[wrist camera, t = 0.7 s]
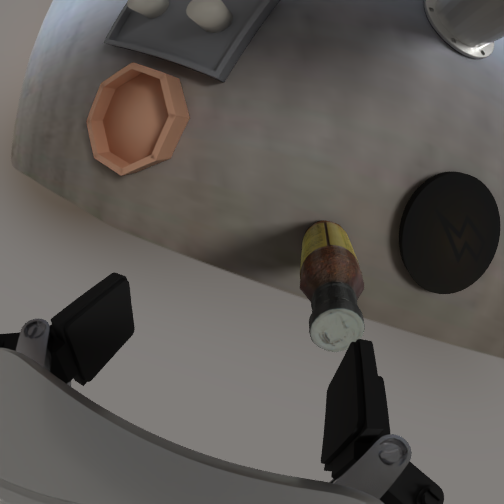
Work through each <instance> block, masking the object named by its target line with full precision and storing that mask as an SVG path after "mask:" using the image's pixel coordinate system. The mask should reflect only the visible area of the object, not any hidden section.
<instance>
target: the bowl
mask: <svg viewBox="0 0 504 504" xmlns="http://www.w3.org/2000/svg"><path fill="white" fill-rule="evenodd" d="M189 119H190V117H189V113H188V109H187V105H186V102H185V98H184V94H183V90H182V86H181V82H180V79H179V78H176V77H174V76H171V75H168V74H166V73H163V72H160V71H157V70H155V69H152V68H149V67H146V66H143V65H140V64H137V63H133V62H132V63H131V64H129V65H128V66H126V67H124V68H123V69H121V70H120V71H118V72H117V73H115V74H114V75H112V76H111V77H109V78H108V79H106V80H105V81H104V82H102V83H101V85H100V87H99V89H98V92H97V94H96V97H95V99H94V102H93V104H92V107H91V110H90V113H89V115H88V118H87V121H86V122H87V127H88V132H89V137H90V142H91V146H92V151H93V155H94V158H95V159H96V160H98V161H99V162H101V163H102V164H104V165H106V166H107V167H109V168H110V169H112V170H113V171H115V172H116V173H118V174H119V175H121V176H123V175H127V174H131V173H136V172H139V171H141V170H144V169H146V168H148V167H151V166H153V165H156V164H158V163H161V162H163V161H166V160H168V159H171V156H172V154H173V152H174V150H175V148H176V145H177V143H178V141H179V139H180V137H181V135H182V133H183V131H184V129H185V127H186V125H187V123H188V121H189Z"/></svg>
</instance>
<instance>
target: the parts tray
mask: <svg viewBox="0 0 504 504" xmlns="http://www.w3.org/2000/svg"><path fill="white" fill-rule="evenodd" d="M191 1H192V0H169V6H168V8H167V10H166V11H165V12H164V13H163V14H162V15H160V16H159V17H156V18H153V19H150V18H147V17H145V16H143V15H142V14H140V13H138V12H136V11H134V10H132V9H130V8H129V7H128V6H127V3H126V5H125V6H124V8H123V10H122V11H121V13H120V14H119V16H118V18H117V19H116V21H115V23H114V24H113V26H112V28H111V30H110V32H109V33H108V35H107V37H106V39H105V41H104V43H106V44H110V45H113V46H117V47H121V48H126V49H129V50H133V51H137V52H141V53H144V54H148V55H151V56H154V57H157V58H161V59H164V60H167V61H170V62H173V63H176V64H179V65H181V66H184V67H187V68H190V69H192V70H195V71H198V72H200V73H203V74H205V75H208V76H210V77H213V78H215V79H217V80H220V81H222V82H225V80H226V78H227V77H228V75H229V73H230V72H231V70H232V69H233V67H234V65H235V64H236V62H237V61H238V59H239V57H240V56H241V54H242V53H243V51H244V50H245V48H246V47H247V45H248V44H249V42H250V41H251V39H252V38H253V36H254V35H255V33H256V32H257V30H258V29H259V28H260V26H261V25H262V23H263V22H264V21H265V19H266V18H267V16H268V15H269V14H270V12H271V11H272V10H273V8H274V7H275V6H276V5H277V3H278V2H279V1H280V0H221V1H222V2H223V3H224V4H225V6H226V7H227V8H228V9H229V11H230V12H231V13H232V16H233V20H232V22H231V24H230V25H229V26H228V27H227V28H226V29H225V30H223V31H221V32H217V33H210V32H207V31H205V30H204V29H203V28H201V27H200V26H199V25H198V24H197V23H195V22H194V21H193V20H192V19H191V18H189V17H188V15H187V13H186V9H187V6H188V4H189V3H190V2H191Z"/></svg>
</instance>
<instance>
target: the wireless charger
mask: <svg viewBox="0 0 504 504" xmlns="http://www.w3.org/2000/svg"><path fill="white" fill-rule="evenodd" d="M499 237H500V216H499V211H498V207H497V204H496V201H495V199H494V197H493V195H492V194H491V192H490V191H489V189H488V188H487V187H486V186H485V185H484V184H483V183H482V182H481V181H480V180H478V179H477V178H475V177H473V176H471V175H468V174H464V173H460V172H444V173H440V174H437V175H435V176H433V177H431V178H430V179H428V180H427V181H425V182H424V183H423V184H422V185H421V186H420V187H419V188H418V189H417V190H416V191H415V192H414V194H413V195H412V197H411V198H410V200H409V202H408V203H407V205H406V208H405V210H404V213H403V216H402V219H401V223H400V230H399V247H400V252H401V256H402V260H403V262H404V264H405V266H406V268H407V270H408V271H409V273H410V275H411V276H412V278H413V279H414V280H415V281H416V282H417V283H418V284H419V285H420V286H421V287H423V288H424V289H426V290H428V291H430V292H433V293H438V294H450V293H455V292H458V291H461V290H463V289H465V288H467V287H469V286H470V285H472V284H473V283H474V282H475V281H477V280H478V279H479V278H480V277H481V276H482V275H483V273H484V272H485V271H486V269H487V268H488V267H489V265H490V263H491V261H492V259H493V257H494V255H495V252H496V250H497V246H498V242H499Z"/></svg>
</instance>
